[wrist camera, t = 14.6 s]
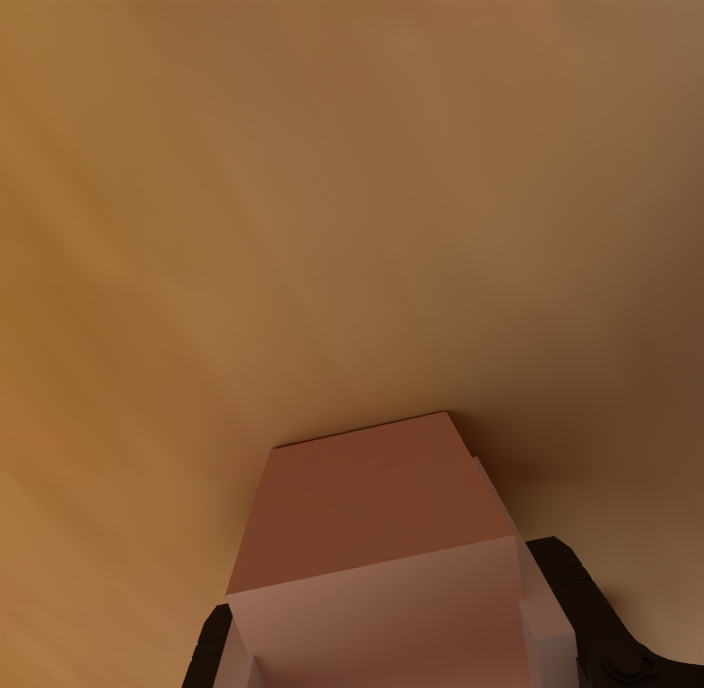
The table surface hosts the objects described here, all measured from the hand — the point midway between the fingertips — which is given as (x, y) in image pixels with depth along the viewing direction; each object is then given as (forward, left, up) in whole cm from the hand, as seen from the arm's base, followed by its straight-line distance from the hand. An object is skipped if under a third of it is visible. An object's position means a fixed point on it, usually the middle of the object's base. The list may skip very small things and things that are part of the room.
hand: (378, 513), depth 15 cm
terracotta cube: (0, 0, 0) cm, 0 cm away
